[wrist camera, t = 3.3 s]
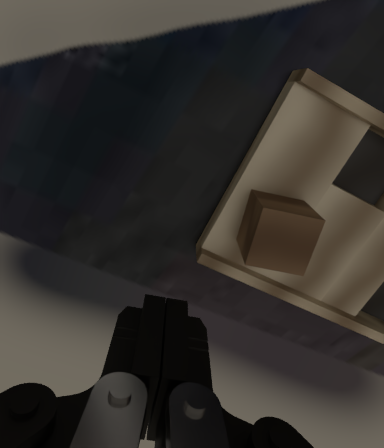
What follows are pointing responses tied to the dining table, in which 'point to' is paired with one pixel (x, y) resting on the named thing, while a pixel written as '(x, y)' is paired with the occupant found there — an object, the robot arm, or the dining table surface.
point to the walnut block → (278, 233)
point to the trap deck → (315, 202)
